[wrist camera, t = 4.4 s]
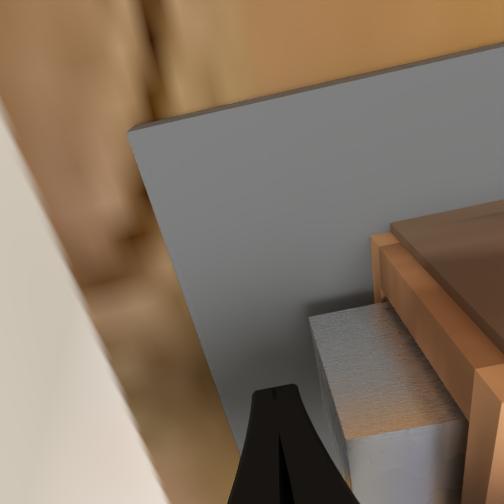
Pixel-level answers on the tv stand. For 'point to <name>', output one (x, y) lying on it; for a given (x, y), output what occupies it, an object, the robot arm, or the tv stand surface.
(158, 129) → the mat
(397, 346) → the peg
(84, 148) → the tv stand surface
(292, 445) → the robot arm
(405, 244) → the housing
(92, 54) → the tv stand surface
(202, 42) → the tv stand surface
